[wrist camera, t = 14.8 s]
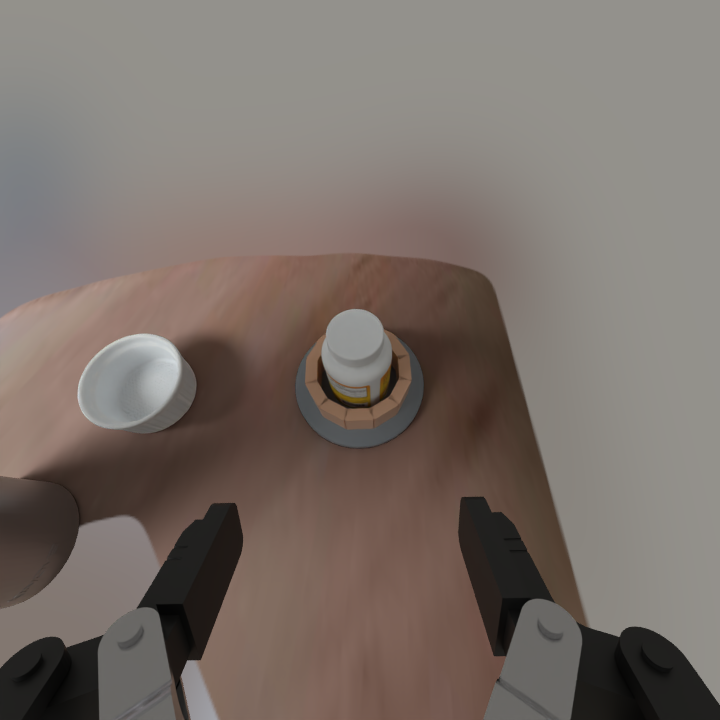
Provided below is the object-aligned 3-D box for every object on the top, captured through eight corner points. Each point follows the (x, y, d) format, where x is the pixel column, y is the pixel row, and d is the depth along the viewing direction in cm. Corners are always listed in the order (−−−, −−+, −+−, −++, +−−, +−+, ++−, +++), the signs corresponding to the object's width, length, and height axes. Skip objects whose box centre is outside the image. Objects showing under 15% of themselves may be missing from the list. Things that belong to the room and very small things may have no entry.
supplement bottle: (370, 348, 34) (368, 287, 25) (400, 393, 32) (410, 344, 23) (321, 374, 33) (301, 321, 24) (348, 422, 31) (339, 383, 22)
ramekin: (209, 351, 35) (189, 330, 32) (195, 437, 32) (170, 426, 28) (124, 355, 36) (93, 335, 32) (100, 441, 32) (62, 430, 28)
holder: (273, 410, 32) (260, 396, 29) (337, 313, 37) (333, 291, 33) (387, 473, 30) (389, 467, 26) (442, 361, 34) (450, 342, 30)
